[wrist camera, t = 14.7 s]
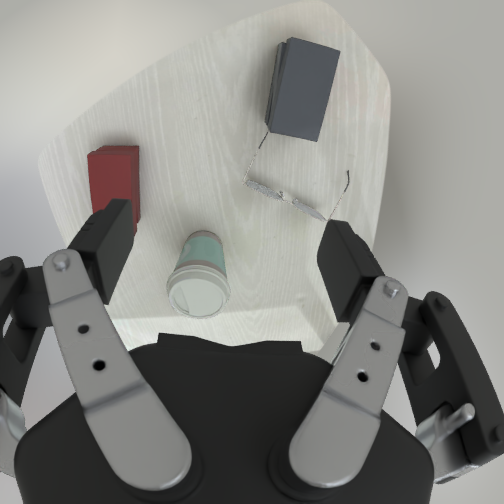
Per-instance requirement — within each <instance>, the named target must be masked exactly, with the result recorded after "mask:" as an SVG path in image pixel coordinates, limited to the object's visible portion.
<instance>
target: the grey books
mask: <svg viewBox="0 0 504 504" xmlns="http://www.w3.org/2000/svg"><path fill="white" fill-rule="evenodd" d="M339 55H340V51H338V50H335V49H332V48H329V47H326V46H322V45H319V44H316V43H312V42H308V41H305V40H301V39H297V38H293V37H291V38H289V39H287V42H286V43H284V42H281V43H280V44H279V45H278V51H277V56H276V62H275V67H274V73H273V78H272V84H271V90H270V95H269V101H268V107H267V112H266V118H265V123H266V125H267V126H268V129H269V131H270V132H271V133H277V134H282V135H287V136H292V137H297V138H302V139H306V140H311V141H315V142H317V141H318V137H319V133H320V129H321V126H322V122H323V118H324V114H325V111H326V107H327V103H328V99H329V95H330V91H331V87H332V83H333V79H334V75H335V71H336V67H337V63H338V59H339Z"/></svg>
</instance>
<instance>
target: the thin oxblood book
mask: <svg viewBox="0 0 504 504" xmlns="http://www.w3.org/2000/svg"><path fill="white" fill-rule="evenodd" d="M87 158H88V172H89V183H90V193H91V201H92V209H93V214H94V213H95V212H97V211H98V210H100V209H102V210H104V209H105V207H106V206H107V205H108V203H109V202H110V201H111V199H113V198H120V199H130V200H131V202H132V212H133V226H134V236H135V234H136V232H137V220H136V203H135V175H134V151H92V152H90V153H89V154H88V155H87Z"/></svg>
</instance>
